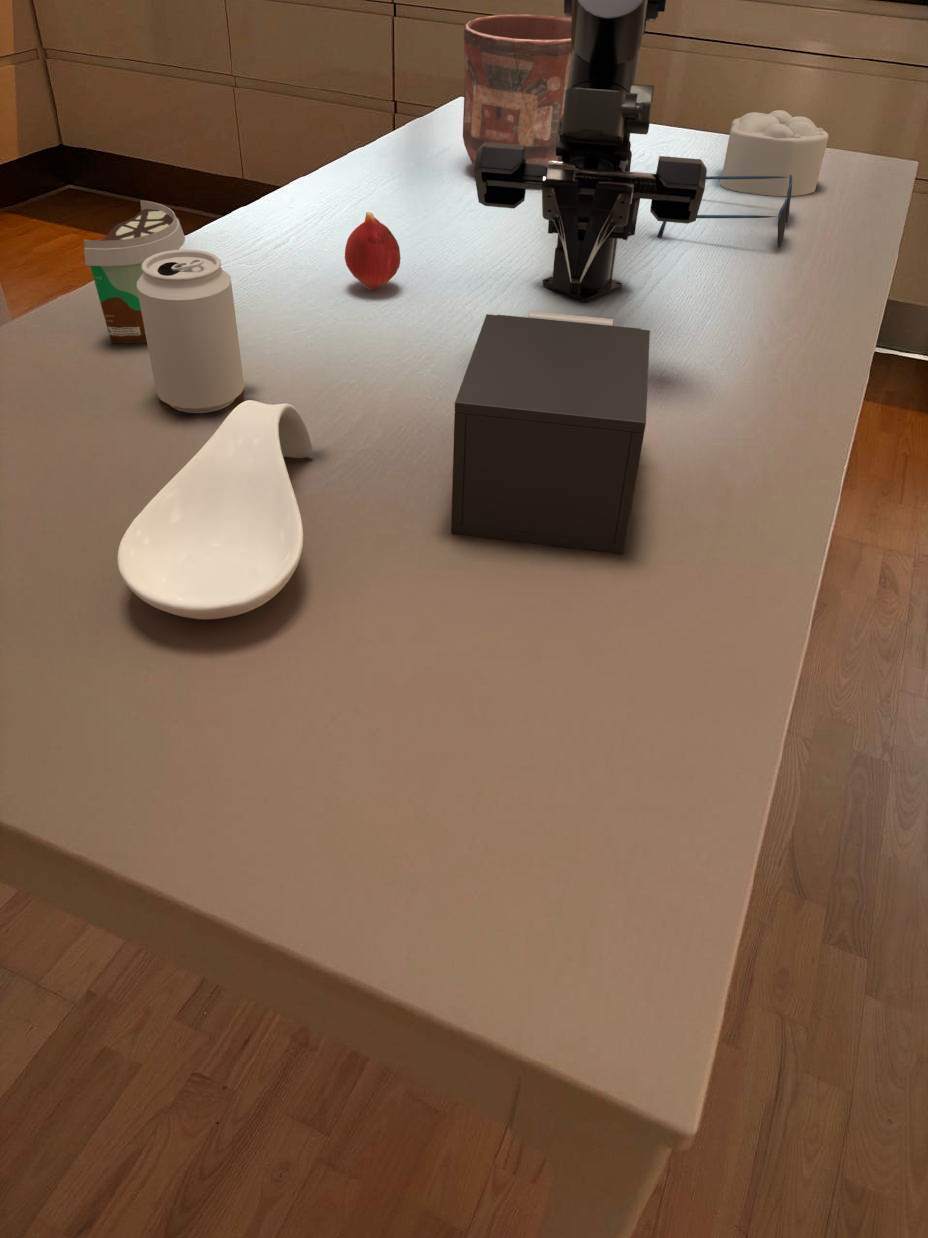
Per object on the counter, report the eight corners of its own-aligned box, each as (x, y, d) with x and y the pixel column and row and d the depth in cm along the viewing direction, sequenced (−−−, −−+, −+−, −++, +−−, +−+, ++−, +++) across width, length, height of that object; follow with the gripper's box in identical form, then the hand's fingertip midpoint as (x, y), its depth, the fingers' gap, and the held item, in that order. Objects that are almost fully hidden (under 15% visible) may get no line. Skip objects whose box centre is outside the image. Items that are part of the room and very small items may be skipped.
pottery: (589, 194, 133) (606, 42, 121) (458, 189, 133) (463, 36, 121) (579, 156, 147) (593, 16, 135) (460, 152, 146) (465, 11, 135)
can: (164, 377, 89) (140, 243, 82) (248, 376, 90) (233, 243, 82) (151, 418, 84) (124, 278, 76) (241, 417, 84) (224, 278, 76)
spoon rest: (284, 655, 62) (273, 563, 57) (100, 639, 62) (75, 546, 58) (353, 459, 80) (349, 376, 75) (210, 447, 80) (197, 365, 76)
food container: (165, 356, 92) (146, 249, 86) (103, 348, 93) (80, 241, 87) (216, 305, 102) (202, 204, 95) (160, 298, 103) (142, 198, 96)
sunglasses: (779, 255, 118) (784, 212, 115) (656, 253, 122) (657, 211, 119) (791, 211, 130) (795, 171, 127) (678, 211, 135) (680, 172, 132)
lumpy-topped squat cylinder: (723, 168, 144) (735, 103, 139) (814, 178, 142) (831, 112, 137) (718, 189, 137) (732, 121, 131) (815, 200, 134) (833, 131, 129)
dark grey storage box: (480, 434, 83) (486, 313, 76) (630, 451, 82) (650, 329, 75) (450, 533, 72) (454, 401, 65) (623, 554, 71) (646, 422, 64)
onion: (408, 283, 108) (408, 208, 102) (388, 303, 103) (387, 225, 98) (359, 275, 109) (356, 200, 104) (337, 294, 105) (333, 217, 100)
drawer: (498, 390, 88) (504, 293, 82) (627, 403, 86) (642, 306, 81) (466, 499, 74) (470, 392, 68) (618, 517, 73) (636, 410, 67)
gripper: (482, 29, 76) (454, 223, 75) (728, 46, 74) (704, 245, 73) (491, 115, 87) (467, 286, 86) (706, 132, 85) (684, 306, 84)
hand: (575, 280), depth 82 cm, fingers closed
